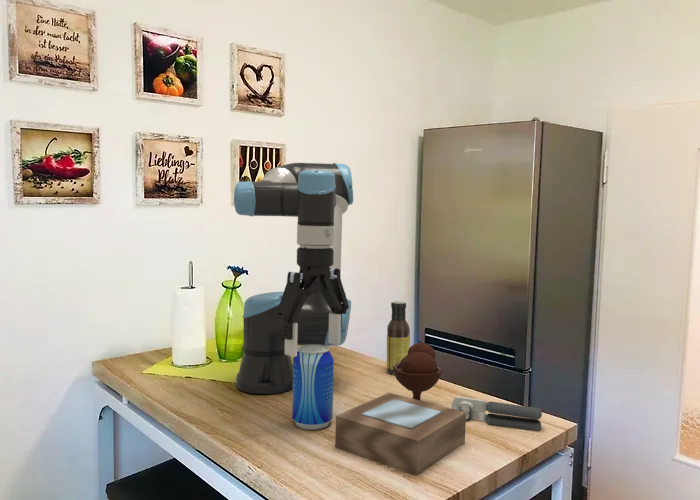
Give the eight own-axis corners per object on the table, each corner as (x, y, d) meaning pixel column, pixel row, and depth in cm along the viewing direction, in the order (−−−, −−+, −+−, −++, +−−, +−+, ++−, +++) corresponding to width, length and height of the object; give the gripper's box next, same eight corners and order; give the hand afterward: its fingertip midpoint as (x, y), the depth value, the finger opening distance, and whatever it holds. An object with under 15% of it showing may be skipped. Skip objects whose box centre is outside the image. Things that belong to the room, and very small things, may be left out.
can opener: (447, 420, 125) (447, 397, 124) (453, 411, 131) (454, 389, 130) (540, 435, 118) (541, 411, 117) (542, 425, 123) (543, 401, 123)
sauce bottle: (414, 375, 157) (416, 302, 155) (396, 379, 153) (398, 304, 152) (398, 369, 162) (400, 299, 161) (381, 373, 158) (383, 301, 157)
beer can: (327, 433, 116) (328, 354, 115) (287, 429, 118) (287, 351, 116) (336, 418, 124) (337, 344, 123) (298, 414, 126) (299, 342, 125)
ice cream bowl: (390, 400, 136) (392, 337, 135) (438, 401, 136) (440, 339, 135) (392, 416, 126) (394, 348, 125) (444, 418, 125) (446, 350, 124)
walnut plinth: (335, 446, 109) (335, 414, 109) (388, 420, 124) (388, 391, 123) (417, 475, 98) (418, 439, 98) (464, 442, 113) (466, 410, 112)
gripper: (286, 250, 106) (284, 364, 107) (366, 245, 125) (363, 342, 127) (257, 247, 110) (256, 357, 112) (339, 243, 130) (337, 337, 131)
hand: (313, 349), depth 119 cm, fingers open, 13 cm apart
